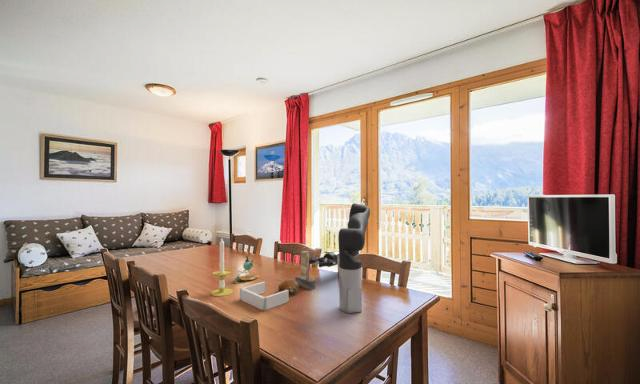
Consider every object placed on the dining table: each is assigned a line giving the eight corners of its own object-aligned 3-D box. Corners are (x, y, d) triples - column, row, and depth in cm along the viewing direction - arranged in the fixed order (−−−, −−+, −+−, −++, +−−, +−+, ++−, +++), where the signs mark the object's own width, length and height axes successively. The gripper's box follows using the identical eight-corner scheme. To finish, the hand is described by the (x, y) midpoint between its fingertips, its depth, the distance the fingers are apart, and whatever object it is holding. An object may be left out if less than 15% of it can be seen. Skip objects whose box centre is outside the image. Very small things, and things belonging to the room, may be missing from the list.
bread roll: (299, 297, 138) (300, 280, 142) (296, 295, 129) (297, 277, 132) (280, 297, 139) (281, 280, 143) (275, 295, 130) (277, 277, 133)
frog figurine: (226, 281, 153) (229, 254, 155) (255, 278, 165) (257, 252, 167) (234, 285, 146) (237, 256, 148) (264, 281, 158) (266, 255, 160)
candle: (225, 297, 129) (225, 239, 129) (206, 295, 131) (206, 238, 131) (236, 289, 139) (236, 235, 139) (218, 288, 141) (218, 235, 141)
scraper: (299, 283, 149) (299, 249, 149) (315, 288, 141) (315, 252, 141) (295, 284, 147) (294, 250, 147) (311, 289, 139) (311, 253, 139)
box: (263, 291, 136) (263, 281, 136) (288, 301, 124) (288, 290, 124) (239, 299, 127) (239, 288, 127) (264, 310, 114) (264, 298, 114)
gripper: (323, 250, 165) (304, 254, 153) (342, 254, 155) (323, 259, 144) (323, 263, 165) (304, 268, 153) (342, 267, 155) (323, 273, 143)
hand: (313, 263), depth 148 cm, fingers open, 8 cm apart
